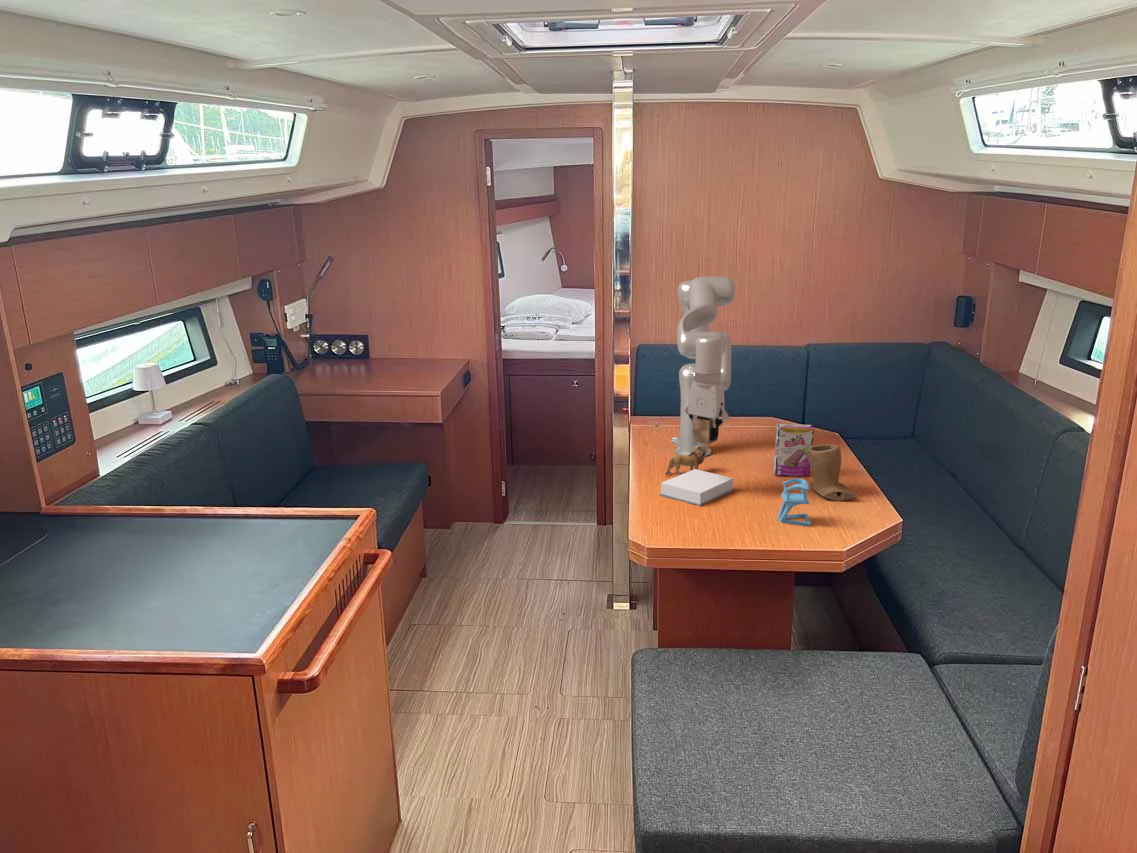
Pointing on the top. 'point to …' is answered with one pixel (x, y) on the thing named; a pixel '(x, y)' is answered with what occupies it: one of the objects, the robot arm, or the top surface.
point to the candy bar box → (792, 450)
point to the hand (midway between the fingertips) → (705, 437)
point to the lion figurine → (687, 460)
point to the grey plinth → (697, 487)
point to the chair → (794, 502)
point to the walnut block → (703, 430)
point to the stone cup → (827, 472)
